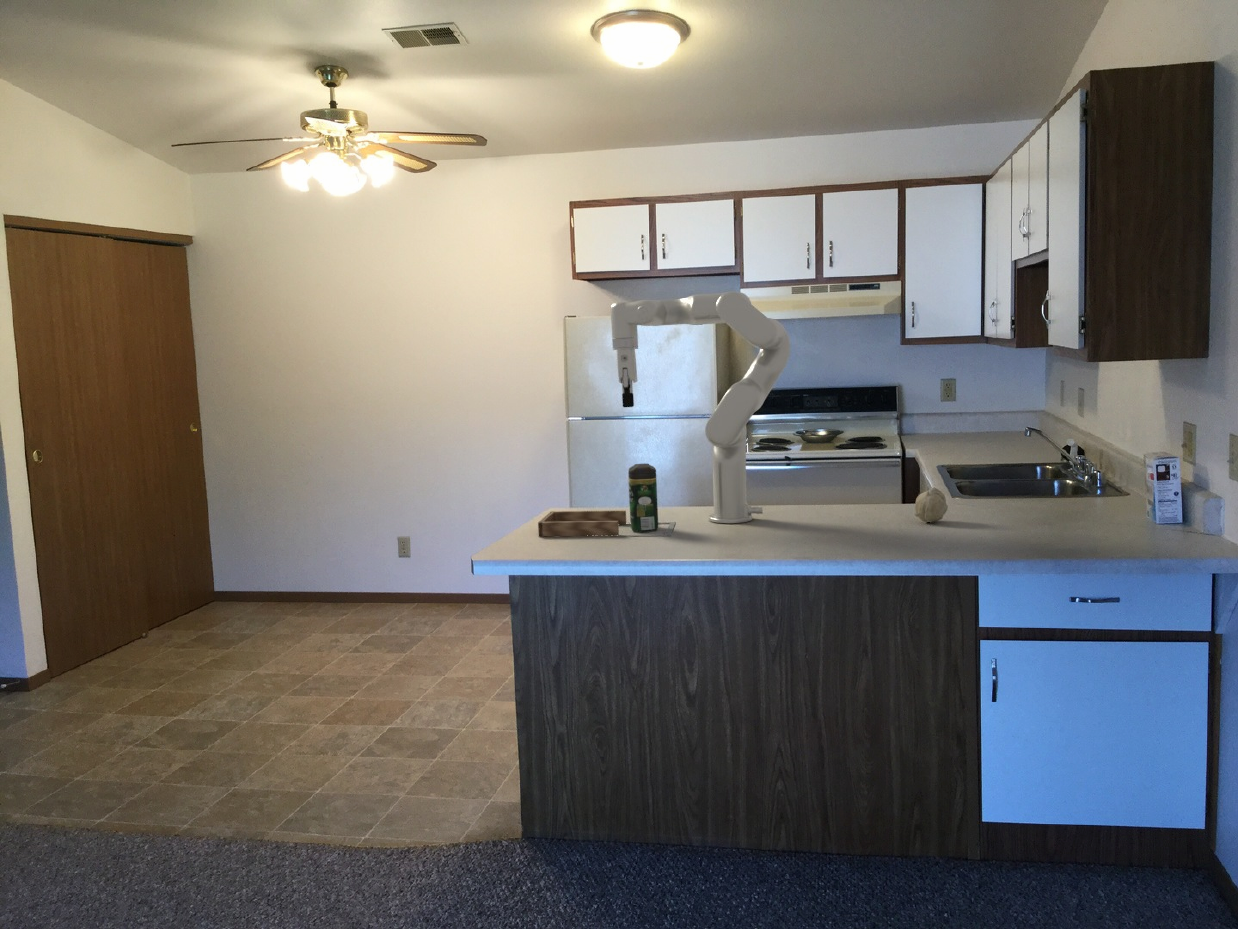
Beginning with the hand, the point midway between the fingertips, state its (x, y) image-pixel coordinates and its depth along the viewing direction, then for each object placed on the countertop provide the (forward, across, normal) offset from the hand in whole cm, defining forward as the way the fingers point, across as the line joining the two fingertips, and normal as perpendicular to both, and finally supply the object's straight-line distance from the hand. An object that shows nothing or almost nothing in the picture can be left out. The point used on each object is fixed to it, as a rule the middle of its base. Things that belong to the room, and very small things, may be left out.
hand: (628, 406), depth 287 cm
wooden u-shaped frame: (+33, -18, +13) cm, 40 cm away
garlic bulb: (+35, -17, -83) cm, 92 cm away
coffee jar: (+34, -18, -4) cm, 39 cm away
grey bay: (+34, -18, -5) cm, 39 cm away
